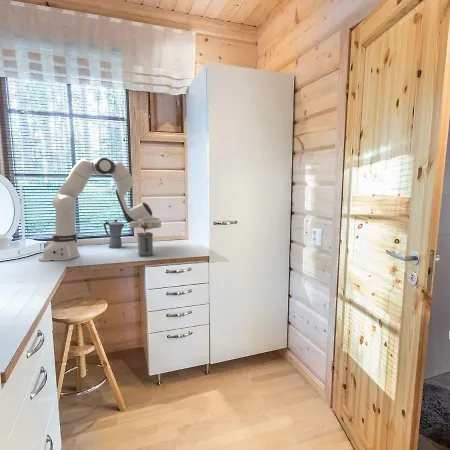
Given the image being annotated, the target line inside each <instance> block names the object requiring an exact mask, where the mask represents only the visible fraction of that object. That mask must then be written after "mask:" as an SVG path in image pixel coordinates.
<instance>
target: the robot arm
mask: <svg viewBox="0 0 450 450" xmlns="http://www.w3.org/2000/svg"><path fill="white" fill-rule="evenodd" d="M92 175H98V176H105V175H110V176H111V177H112V179H113V180H114V182H115V184H116V189H115V195H116V198H117V200H118V201H117V202H118V204H119V205H120V208H121V210H122V214H123V217H124V220H125V221H126V222H127V223H129V228H133V229H134V228H135V229H136V228H142V222H147V228H146V231H148V230H152V229H160V228H161V227H162V220H161V219H160V218H157V217H154V216H153V211H152V208H151V207H150V205H149V204H148V203H145V202H141V203H139V204H136V205H134V206H132V207H128V205H127V201H126V199H125V196H126V194H127V193H128V192H129V191H130V189H131V188H132V187H133V185H134V180H133V177H132V175H131V173H130V172H129V170H128V169H127V167H126V166H125V164H124V163H122V161H113V160H111V159H109V158H107V157H104V156H103V157H97V158H95V159H93V160H91V161H90V160H88V159H80V160H78V161H77V162H76V164H74V166H73V168H72V169H71V170H70V173H68V176H67V177H66V179H65V181H64V182H63V183H62V185H61V187H60V188H59V189H58V191H57V192H56V193H55V196H54V197H53V199H52V203H51V204H52V207H53V208H54V209H55V221H54V228H55V234H52V235H51V237H52V238H51V239H52V241H51V242H50V243H49V244H48V245H46V246H45V247H44V249H43V251H42V255H40V256H39V257H38V260H39V261H40V262H50V260H54V261H68V260H71V259H75V258H79V257H80V255H81V254H80V252H79V249H78V235H77V233H76V230H77V229H76V216H77V215H76V214H77V213H76V211H77V203H76V199H77V198H78V197H79V196H80V194H81V193H82V192H83V191H84V189H85V187H86V186H87V183H88V182H89V180H90V178H91V177H92ZM142 229H143V228H142Z"/></svg>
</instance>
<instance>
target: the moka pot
mask: <svg viewBox="0 0 450 450" xmlns="http://www.w3.org/2000/svg"><path fill="white" fill-rule="evenodd" d="M107 225H108V227H109V228H108V229H109V232H108V230H107ZM124 226H125V223H123V222H118V220H117V219H114V221H111V222H109V221H105V222H104V224H103V227H104V228H103V229H104V230H105V233H106V235H107V236H110V238H109V244H108V247H109V248H112V249H119V248H122V246H123V244H122V230H123V228H124Z"/></svg>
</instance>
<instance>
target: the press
mask: <svg viewBox="0 0 450 450" xmlns="http://www.w3.org/2000/svg"><path fill="white" fill-rule="evenodd" d="M136 235H137V255H138V256H139V257H140V258H141V257H142V258H143V257H153V256H154V250H153V249H154V246H153V245H154V243H153V236H154V234H153V233H152V232H149V231H146V234H144V232H137V234H136Z"/></svg>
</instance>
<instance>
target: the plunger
mask: <svg viewBox="0 0 450 450" xmlns="http://www.w3.org/2000/svg"><path fill="white" fill-rule="evenodd" d="M146 228H147V222H142V229H143V233H144V234H146V232H147V230H146Z"/></svg>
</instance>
